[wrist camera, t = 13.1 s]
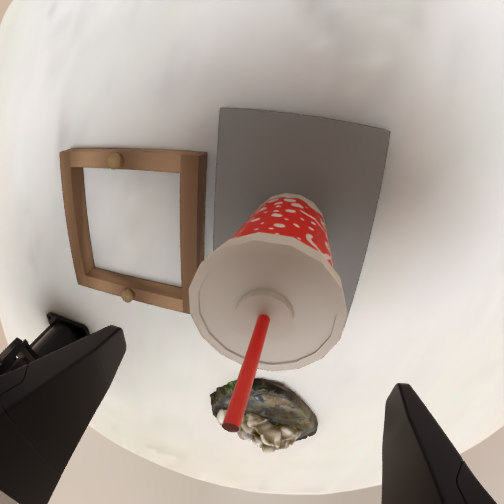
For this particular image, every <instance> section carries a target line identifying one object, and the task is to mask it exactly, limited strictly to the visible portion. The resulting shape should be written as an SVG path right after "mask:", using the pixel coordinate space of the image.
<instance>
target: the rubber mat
mask: <svg viewBox="0 0 504 504" xmlns="http://www.w3.org/2000/svg"><path fill="white" fill-rule="evenodd" d="M389 137H390V131H388V130H384V129H380V128H375V127H370V126H366V125H361V124H355V123H350V122H345V121H339V120H333V119H327V118H320V117H313V116H306V115H299V114H291V113H282V112H273V111H262V110H250V109H236V108H220V114H219V129H218V146H217V163H216V183H215V206H214V234H213V251H214V250H216V249H217V248H218V247H220V246H221V245H222V244H223V243H225V242H226V241H227V240H229V239H231V238H232V237H233V236H234V235H235V233H236V232H237V231H238V230H239V229H240V228H241V227H242V226H243V224H244V223H245V222H246V221H247V220H248V219H249V218H250V217H251V215H252V214H253V213H254V212H255V211H256V210H257V209H258V208H259V206H260V205H261V204H263V203H264V202H265V201H267V200H268V199H269V198H271V197H272V196H276V195H280V194H284V193H290V194H297V195H302V196H303V197H305V198H307V199H309V200H310V201H312V202H314V203H315V205H316V206H317V207H318V209H319V210H320V211H321V212H322V214H323V217H324V221H325V225H326V229H327V235H328V240H329V245H330V250H331V256H332V261H333V267H334V270H335V271H336V272H337V274H338V275H339V276H340V279H341V283H342V288H343V293H344V297H345V302H346V308H347V317H348V314H349V311H350V307H351V304H352V301H353V297H354V294H355V291H356V287H357V284H358V280H359V277H360V273H361V269H362V266H363V262H364V258H365V254H366V250H367V246H368V242H369V238H370V234H371V230H372V226H373V221H374V217H375V212H376V208H377V203H378V198H379V194H380V189H381V184H382V178H383V173H384V167H385V162H386V156H387V150H388V144H389ZM346 320H347V318H346ZM345 323H346V322H345ZM344 326H345V325H344Z"/></svg>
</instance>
